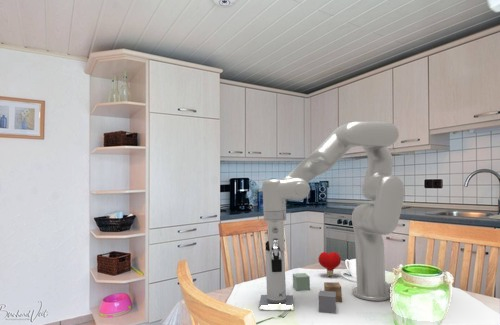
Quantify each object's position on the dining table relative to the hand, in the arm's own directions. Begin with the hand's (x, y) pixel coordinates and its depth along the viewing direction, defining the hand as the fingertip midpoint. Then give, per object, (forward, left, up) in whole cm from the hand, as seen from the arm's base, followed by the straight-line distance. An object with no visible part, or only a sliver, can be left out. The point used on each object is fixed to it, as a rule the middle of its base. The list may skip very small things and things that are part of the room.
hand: (277, 267), depth 106 cm
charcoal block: (-16, +4, -12) cm, 20 cm away
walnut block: (-19, -5, -12) cm, 23 cm away
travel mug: (0, 0, -11) cm, 11 cm away
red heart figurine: (-22, -32, -12) cm, 40 cm away
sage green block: (-9, -16, -12) cm, 22 cm away
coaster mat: (0, 0, -12) cm, 12 cm away
